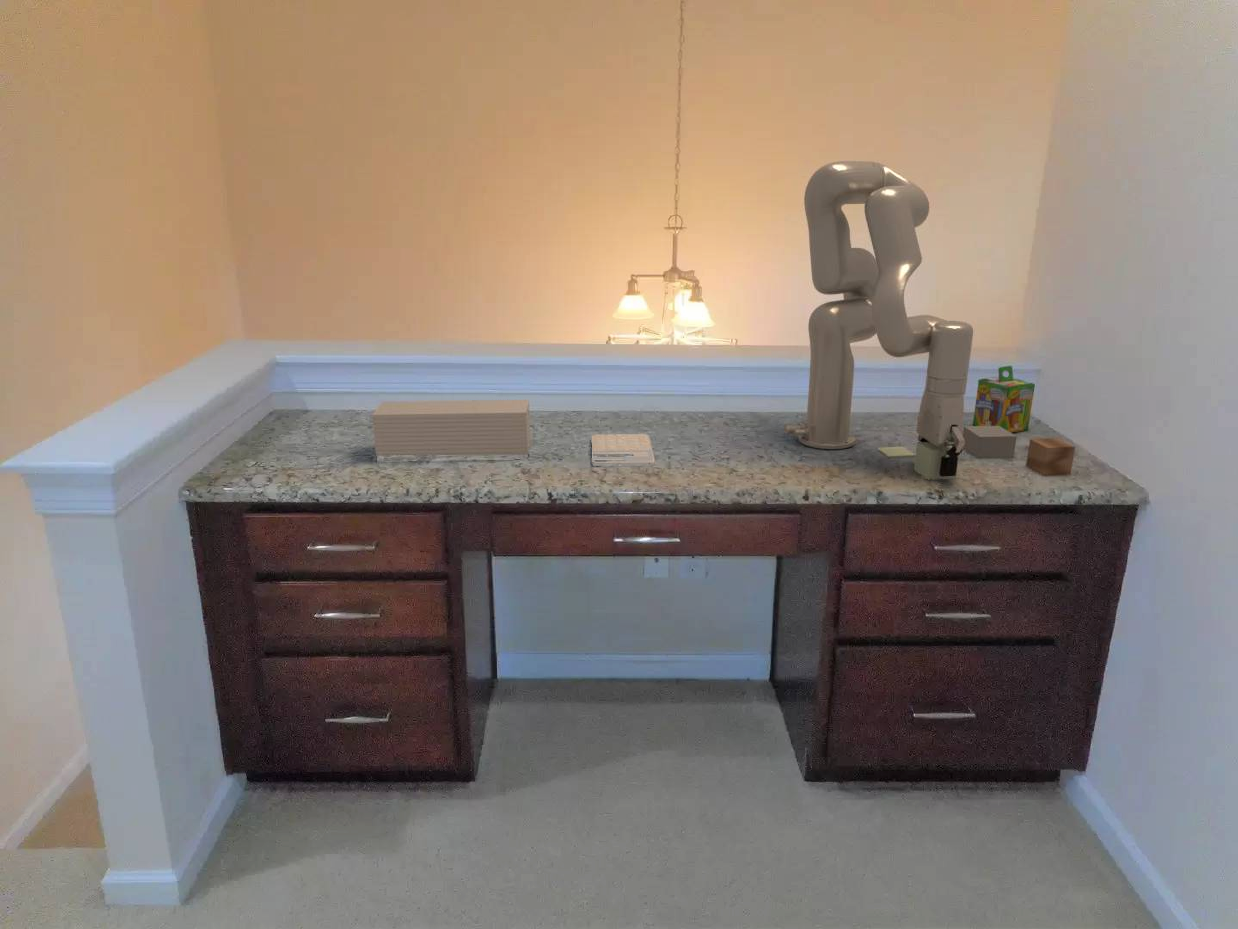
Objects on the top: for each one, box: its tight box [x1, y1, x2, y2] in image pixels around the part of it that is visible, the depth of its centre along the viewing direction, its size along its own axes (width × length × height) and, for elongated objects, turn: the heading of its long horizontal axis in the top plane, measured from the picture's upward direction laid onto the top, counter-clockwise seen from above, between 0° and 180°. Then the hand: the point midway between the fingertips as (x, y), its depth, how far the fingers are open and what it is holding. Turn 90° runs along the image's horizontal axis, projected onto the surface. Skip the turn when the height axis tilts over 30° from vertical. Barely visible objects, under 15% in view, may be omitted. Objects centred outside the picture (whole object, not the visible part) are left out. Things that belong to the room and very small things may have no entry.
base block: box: [962, 425, 1017, 459], centre depth 188 cm, size 8×8×5 cm
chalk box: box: [972, 365, 1036, 434], centre depth 203 cm, size 9×9×15 cm
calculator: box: [590, 433, 656, 464], centre depth 189 cm, size 13×20×2 cm, turn 2°
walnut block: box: [1025, 437, 1076, 477], centre depth 176 cm, size 6×6×6 cm
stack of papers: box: [371, 399, 531, 457], centre depth 187 cm, size 32×11×11 cm, turn 93°
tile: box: [876, 446, 916, 459], centre depth 188 cm, size 6×6×1 cm
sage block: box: [913, 441, 960, 481], centre depth 174 cm, size 6×6×6 cm
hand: (935, 467), depth 174 cm, fingers open, 9 cm apart
